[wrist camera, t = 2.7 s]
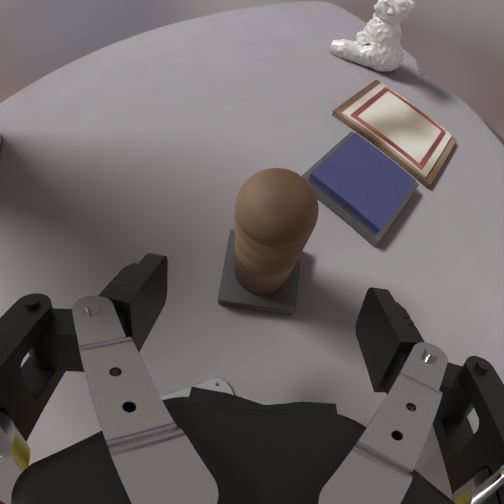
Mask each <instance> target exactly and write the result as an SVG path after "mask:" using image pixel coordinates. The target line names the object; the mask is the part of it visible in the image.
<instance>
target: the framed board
mask: <svg viewBox="0 0 504 504" xmlns="http://www.w3.org/2000/svg"><path fill="white" fill-rule="evenodd" d="M332 115H333V116H335V117H336V118H338V119H339V120H341V121H342V122H344V123H345V124H347V125H348V126H349V127H351V128H352V129H354V130H355V131H356V132H358V133H359V134H361V135H362V136H363V137H365V138H366V139H367V140H369V141H370V142H371V143H373V144H374V145H375V146H377V147H378V148H379V149H381V150H382V151H383V152H384V153H386V154H387V155H388V156H389V157H391V158H392V159H393V160H394V161H396V162H397V163H398V164H399V165H401V166H402V167H403V168H404V169H405V170H407V171H408V172H409V173H410V174H411V175H413V176H414V177H415V178H416V179H417V180H418V181H420V182H421V183H422V184H423V185H424V186H425V187H426V188H428V187H429V186H430V185H431V184H432V182H433V180H434V179H435V177H436V175H437V174H438V172H439V170H440V168H441V167H442V165H443V163H444V162H445V160H446V158H447V156H448V155H449V153H450V151H451V149H452V147H453V146H454V144H455V142H456V139H455V138H454V137H453V136H452V135H450V134H449V133H448V132H447V131H446V130H445V129H443V128H442V127H441V126H440V125H438V124H437V123H436V122H435V121H433V120H432V119H431V118H430V117H428V116H427V115H426V114H425V113H423V112H422V111H421V110H419V109H418V108H417V107H415V106H414V105H413V104H411V103H410V102H409V101H407V100H406V99H404V98H403V97H402V96H400V95H399V94H397V93H396V92H394V91H393V90H391V89H390V88H388V87H387V86H385V85H384V84H382V83H381V82H379V81H378V80H375V81H373V82H372V83H371V84H369V85H368V86H366V87H365V88H364V89H362V90H361V91H360V92H358V93H357V94H355V95H354V96H353V97H351V98H350V99H349V100H347V101H346V102H345V103H343V104H342V105H340V106H339V107H338V108H336V109H335V110H334V111H333V114H332Z"/></svg>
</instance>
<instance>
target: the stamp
mask: <svg viewBox="0 0 504 504" xmlns="http://www.w3.org/2000/svg"><path fill="white" fill-rule="evenodd" d="M317 218H318V202H317V198H316V195H315V193H314V191H313V189H312V187H311V186H310V184H309V183H308V182H307V181H306V180H305V179H304V178H303V177H302V176H300V175H299V174H297V173H295V172H293V171H290V170H287V169H282V168H272V169H266V170H263V171H260V172H258V173H256V174H255V175H253V176H252V177H250V178H249V179H248V180H247V181H246V182H245V183H244V185H243V186H242V188H241V189H240V191H239V194H238V196H237V199H236V205H235V230H231V231H230V236H229V242H228V247H227V252H226V258H225V263H224V269H223V274H222V280H221V286H220V291H219V297H218V301H219V304H220V305H226V306H233V307H239V308H246V309H252V310H259V311H266V312H273V313H281V314H288V315H291V314H292V313H293V312H294V311H295V305H296V295H297V285H298V275H299V265H300V254H301V252H302V250H303V248H304V246H305V245H306V243H307V241H308V239H309V237H310V235H311V233H312V231H313V229H314V227H315V225H316V222H317Z"/></svg>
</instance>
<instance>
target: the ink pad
mask: <svg viewBox="0 0 504 504" xmlns="http://www.w3.org/2000/svg"><path fill="white" fill-rule="evenodd" d="M302 177H303V178H304V179H305V180H306V181H307V182H308V183H309V184H310V186H311V187H312V189H313V191H314V193H315V195H316V198H317V199H318V200H319V201H321V202H322V203H323V204H324V205H326V206H327V207H328V208H329V209H330V210H332V211H333V212H334V213H335V214H337V215H338V216H339V217H340V218H341V219H343V220H344V221H345V222H346V223H347V224H348V225H350V226H351V227H352V228H353V229H354V230H355V231H357V232H358V233H359V234H360V235H361V236H362V237H364V238H365V239H366V240H367V241H368V242H369V243H370V244H372V245H373V246H375V245H376V244H377V243H378V242H379V241H380V240H381V238H382V237H383V236H384V234H385V233H386V231H387V230H388V229H389V227H390V226H391V224H392V223H393V222H394V220H395V219H396V217H397V216H398V215H399V213H400V212H401V210H402V209H403V207H404V206H405V205H406V203H407V202H408V200H409V199H410V197H411V196H412V194H413V193H414V191H415V190H416V188H417V187H418V185H419V184H418V183H417V182H415V181H416V180H415V179H414V178H412V177H411V176H410V175H409V174H408V173H407V172H405V171H404V170H403V169H402V168H400V167H399V166H398V165H397V164H396V163H394V162H393V161H392V160H391V159H389V158H388V157H387V156H386V155H384V154H383V153H382V152H380V151H379V150H378V149H377V148H375V147H374V146H373V145H371V144H370V143H369V142H367V141H366V140H365V139H363V138H362V137H361V136H359V135H358V134H356V133H353V132H352V131H351V132H350V133H349V134H348V135H347V136H346V137H345V138H343V139H342V140H341V141H340V142H339V143H338V144H337V145H336V146H335V147H333V148H332V149H331V150H330V151H329V152H328V153H327V154H326V155H324V156H323V157H322V158H321V159H320V160H319V161H318V162H317V163H316V164H314V165H313V166H312V167H311V168H310V169H309V170H308V171H307V172H306V173H304V174H303V175H302Z"/></svg>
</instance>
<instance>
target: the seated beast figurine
mask: <svg viewBox="0 0 504 504" xmlns="http://www.w3.org/2000/svg"><path fill="white" fill-rule="evenodd" d="M414 8H415V3H414V1H410V0H378V2H377V4H376V5H375V6H374V9H375V13H374V14H373V19H371V20H370V21H369V22H368V23H367V26H365V28H364V29H363V31H360V32H358V33H357V35H356V38H357V39H356V41H354V42H353V41H349V40H345V39H341V40H333V42H332V44H331V48H330V53H332V54H333V55H335V56H337V57H339V58H343V59H346V60H348V61H351V62H354V63H357V64H360V65H362V66H365V67H369V68H371V69H373V70H376V71H379V72H381V71H382V72H385V71H390V72H391V71H392V70H395V69H398V68H399V66H400V63H401V62H402V59H403V55H404V54H403V53H402V49H401V46H400V38H401V29H400V28H401V26H400V24H399V23H400V22H402V21H403V20H405V19H406V18H407V17H408V16H409V15H410V11H411V10H414Z"/></svg>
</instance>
